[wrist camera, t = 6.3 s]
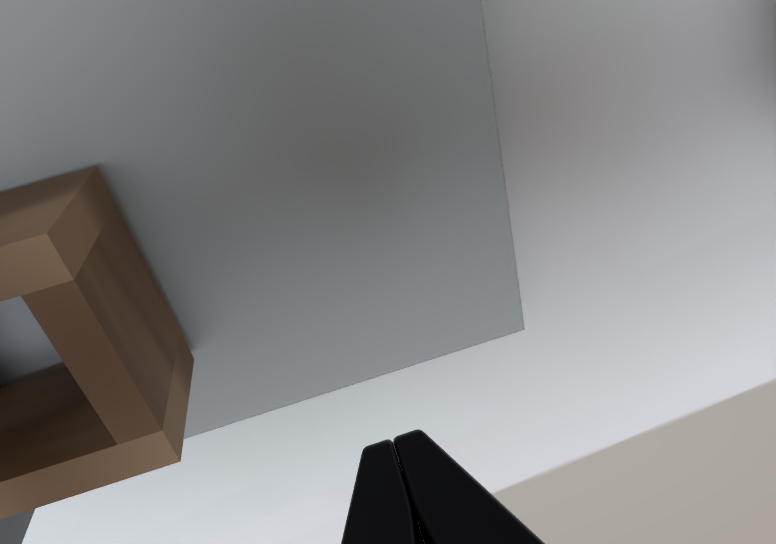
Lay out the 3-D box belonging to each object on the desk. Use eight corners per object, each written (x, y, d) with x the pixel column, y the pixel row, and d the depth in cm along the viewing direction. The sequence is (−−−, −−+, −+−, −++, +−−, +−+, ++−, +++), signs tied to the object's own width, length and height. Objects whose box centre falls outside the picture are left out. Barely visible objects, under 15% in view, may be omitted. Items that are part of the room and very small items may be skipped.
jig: (405, -433, 11) (486, -638, 7) (512, 313, 20) (575, 397, 16) (-590, -214, 10) (-1116, -324, 6) (-7, 479, 19) (-73, 612, 15)
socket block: (97, 165, 14) (46, 233, 10) (194, 359, 17) (180, 461, 13) (-161, 238, 14) (-302, 334, 10) (-15, 424, 16) (-84, 546, 13)
